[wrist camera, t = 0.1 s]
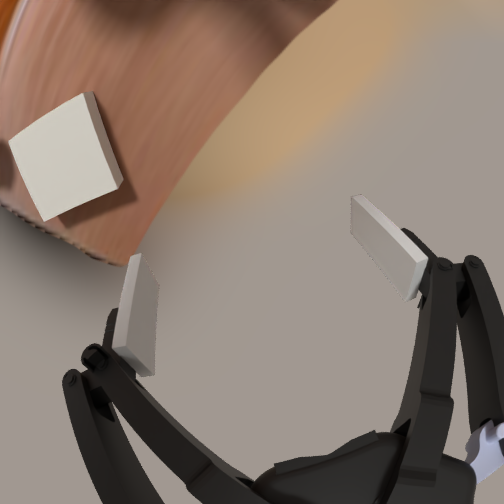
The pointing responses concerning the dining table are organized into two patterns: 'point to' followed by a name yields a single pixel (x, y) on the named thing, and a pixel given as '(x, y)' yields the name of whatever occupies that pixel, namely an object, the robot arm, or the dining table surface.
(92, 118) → the block
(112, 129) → the dining table surface
